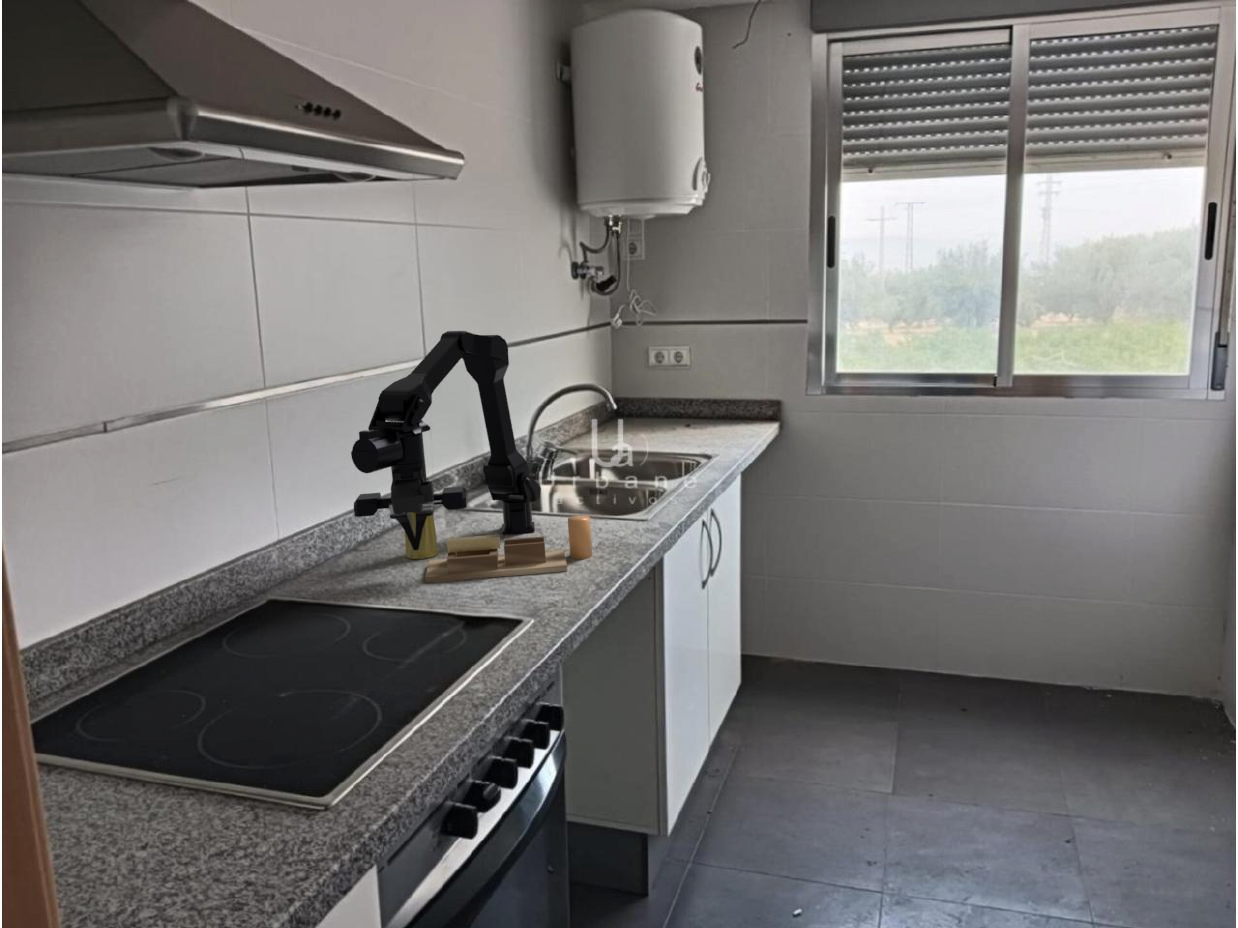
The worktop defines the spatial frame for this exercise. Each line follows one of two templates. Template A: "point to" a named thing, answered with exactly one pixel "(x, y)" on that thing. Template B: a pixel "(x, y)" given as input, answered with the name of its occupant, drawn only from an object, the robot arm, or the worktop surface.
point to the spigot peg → (580, 537)
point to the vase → (423, 540)
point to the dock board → (498, 561)
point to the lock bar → (473, 543)
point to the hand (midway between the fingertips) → (416, 549)
